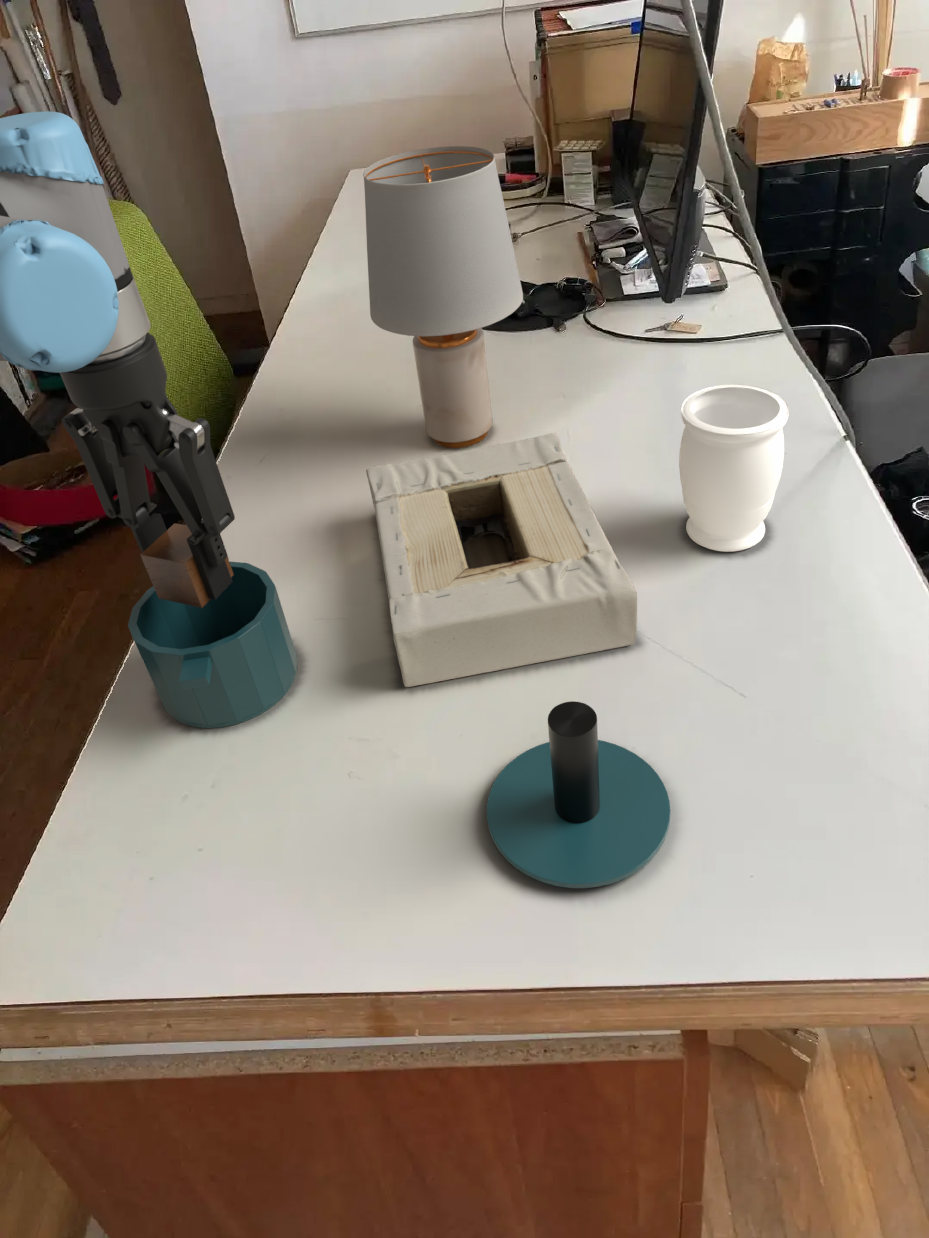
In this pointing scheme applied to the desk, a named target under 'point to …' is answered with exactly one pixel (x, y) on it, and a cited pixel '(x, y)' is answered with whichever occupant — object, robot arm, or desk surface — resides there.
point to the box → (496, 562)
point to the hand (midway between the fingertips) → (195, 584)
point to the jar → (731, 463)
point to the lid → (578, 806)
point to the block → (176, 568)
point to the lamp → (442, 276)
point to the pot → (217, 651)
